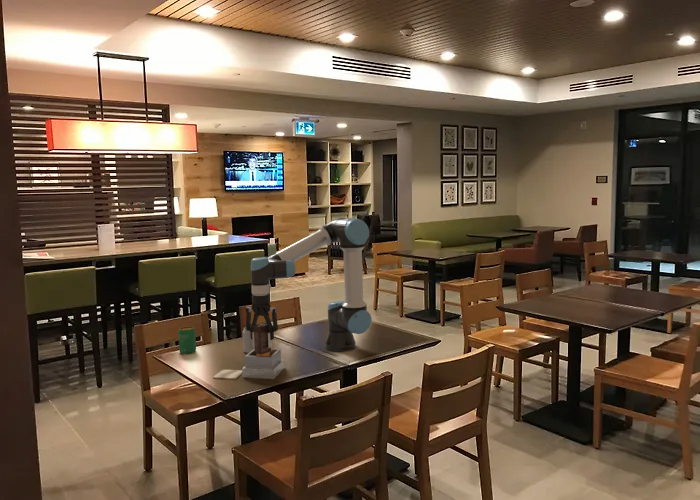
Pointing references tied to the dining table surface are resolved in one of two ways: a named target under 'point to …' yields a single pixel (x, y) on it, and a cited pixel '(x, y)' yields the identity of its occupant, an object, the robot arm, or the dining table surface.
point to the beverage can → (187, 340)
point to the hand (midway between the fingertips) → (262, 346)
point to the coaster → (228, 374)
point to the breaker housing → (263, 365)
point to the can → (247, 341)
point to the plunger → (264, 354)
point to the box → (261, 338)
